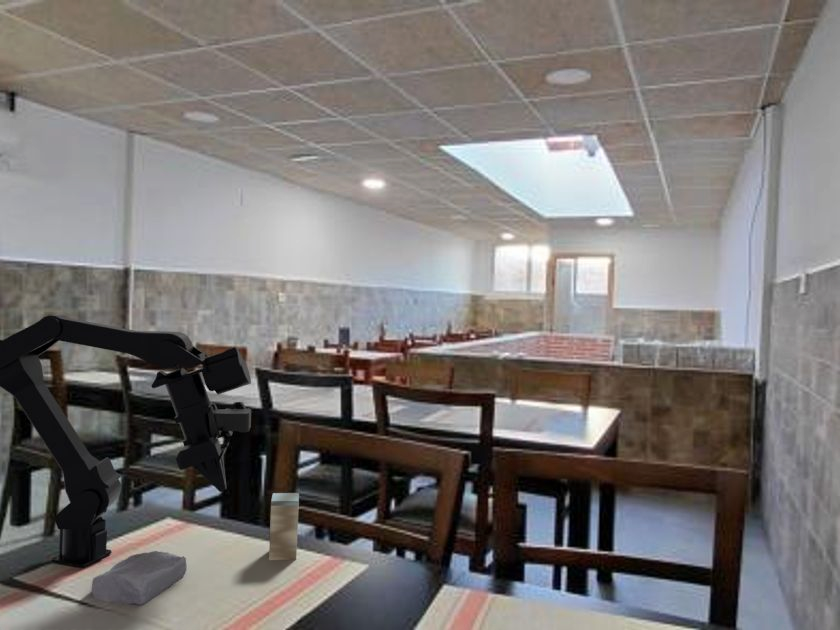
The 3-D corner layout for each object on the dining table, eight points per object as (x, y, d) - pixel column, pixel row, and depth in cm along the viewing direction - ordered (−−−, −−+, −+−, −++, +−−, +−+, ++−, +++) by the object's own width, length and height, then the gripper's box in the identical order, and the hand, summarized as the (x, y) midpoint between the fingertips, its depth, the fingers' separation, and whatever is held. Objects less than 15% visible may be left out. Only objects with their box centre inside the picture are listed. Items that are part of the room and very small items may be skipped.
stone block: (84, 612, 92) (146, 608, 90) (80, 578, 93) (142, 573, 91) (137, 581, 104) (193, 576, 102) (133, 551, 104) (189, 545, 102)
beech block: (268, 560, 109) (271, 501, 108) (270, 550, 113) (272, 493, 113) (296, 559, 109) (298, 500, 109) (296, 549, 114) (299, 493, 114)
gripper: (232, 395, 100) (265, 489, 101) (244, 380, 118) (272, 459, 120) (160, 420, 98) (195, 515, 100) (184, 401, 117) (213, 481, 118)
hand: (223, 490), depth 109 cm, fingers closed
